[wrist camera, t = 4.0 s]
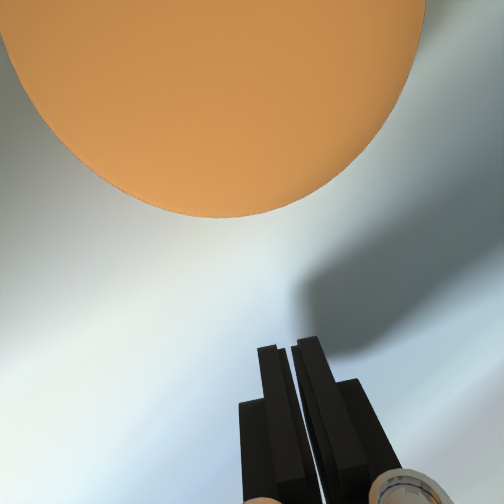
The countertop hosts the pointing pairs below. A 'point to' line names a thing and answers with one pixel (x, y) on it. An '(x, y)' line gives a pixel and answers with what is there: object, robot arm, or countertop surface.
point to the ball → (213, 91)
